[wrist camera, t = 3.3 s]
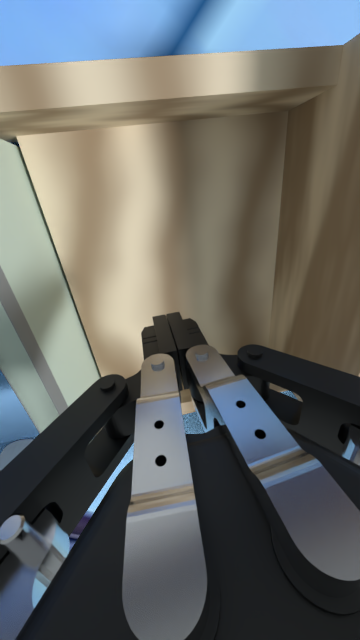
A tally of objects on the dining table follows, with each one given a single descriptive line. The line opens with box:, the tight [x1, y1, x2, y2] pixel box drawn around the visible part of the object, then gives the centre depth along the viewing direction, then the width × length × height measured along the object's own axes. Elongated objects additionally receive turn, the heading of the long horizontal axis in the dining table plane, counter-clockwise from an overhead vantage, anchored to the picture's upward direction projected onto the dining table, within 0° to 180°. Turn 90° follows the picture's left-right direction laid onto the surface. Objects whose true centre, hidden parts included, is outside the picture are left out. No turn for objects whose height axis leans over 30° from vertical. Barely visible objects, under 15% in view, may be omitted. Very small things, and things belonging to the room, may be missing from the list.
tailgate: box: [0, 139, 102, 441], centre depth 16 cm, size 2×20×10 cm, turn 7°
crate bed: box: [0, 34, 360, 434], centre depth 17 cm, size 22×24×12 cm
